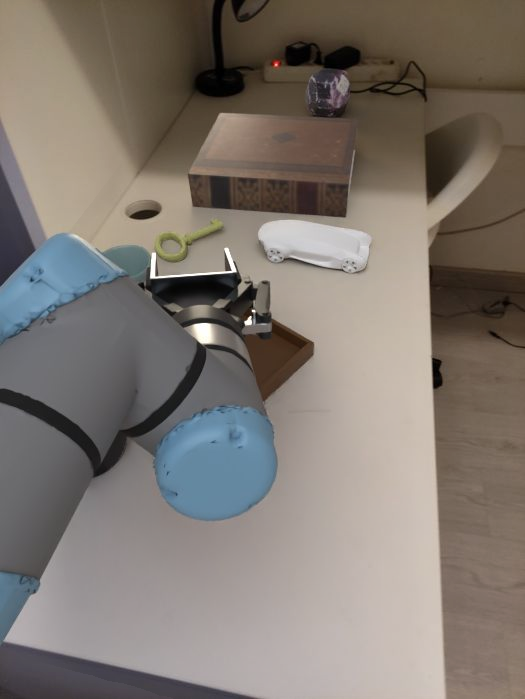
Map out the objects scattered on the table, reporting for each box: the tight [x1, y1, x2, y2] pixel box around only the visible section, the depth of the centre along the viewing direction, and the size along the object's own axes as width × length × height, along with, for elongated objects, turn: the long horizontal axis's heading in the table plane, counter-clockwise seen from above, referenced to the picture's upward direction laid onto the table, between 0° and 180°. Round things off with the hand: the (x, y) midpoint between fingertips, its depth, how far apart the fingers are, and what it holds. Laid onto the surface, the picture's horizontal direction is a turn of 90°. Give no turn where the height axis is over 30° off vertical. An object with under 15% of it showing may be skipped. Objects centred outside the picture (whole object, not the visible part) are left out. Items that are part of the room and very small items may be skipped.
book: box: [187, 112, 359, 218], centre depth 102 cm, size 24×28×6 cm
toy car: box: [257, 219, 373, 274], centre depth 86 cm, size 18×8×4 cm, turn 75°
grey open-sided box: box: [150, 247, 238, 309], centre depth 61 cm, size 9×9×9 cm
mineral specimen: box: [305, 67, 351, 118], centre depth 119 cm, size 10×10×10 cm
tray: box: [241, 308, 315, 403], centre depth 72 cm, size 17×14×2 cm
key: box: [154, 217, 224, 263], centre depth 91 cm, size 7×12×2 cm, turn 137°
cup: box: [102, 244, 152, 282], centre depth 76 cm, size 8×8×10 cm
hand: (192, 274), depth 65 cm, fingers closed on grey open-sided box, 9 cm apart
